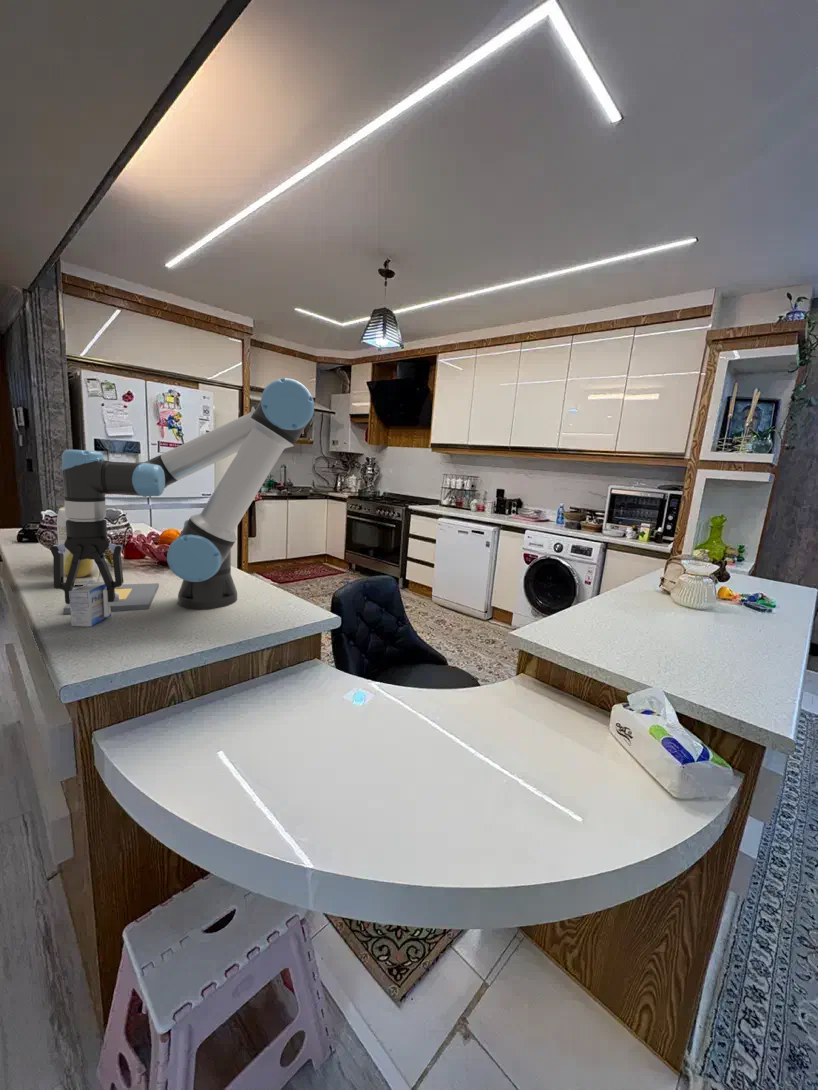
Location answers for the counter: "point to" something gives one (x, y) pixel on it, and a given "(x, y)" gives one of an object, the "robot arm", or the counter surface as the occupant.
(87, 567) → the juice carton
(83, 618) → the medicine box
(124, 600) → the board
